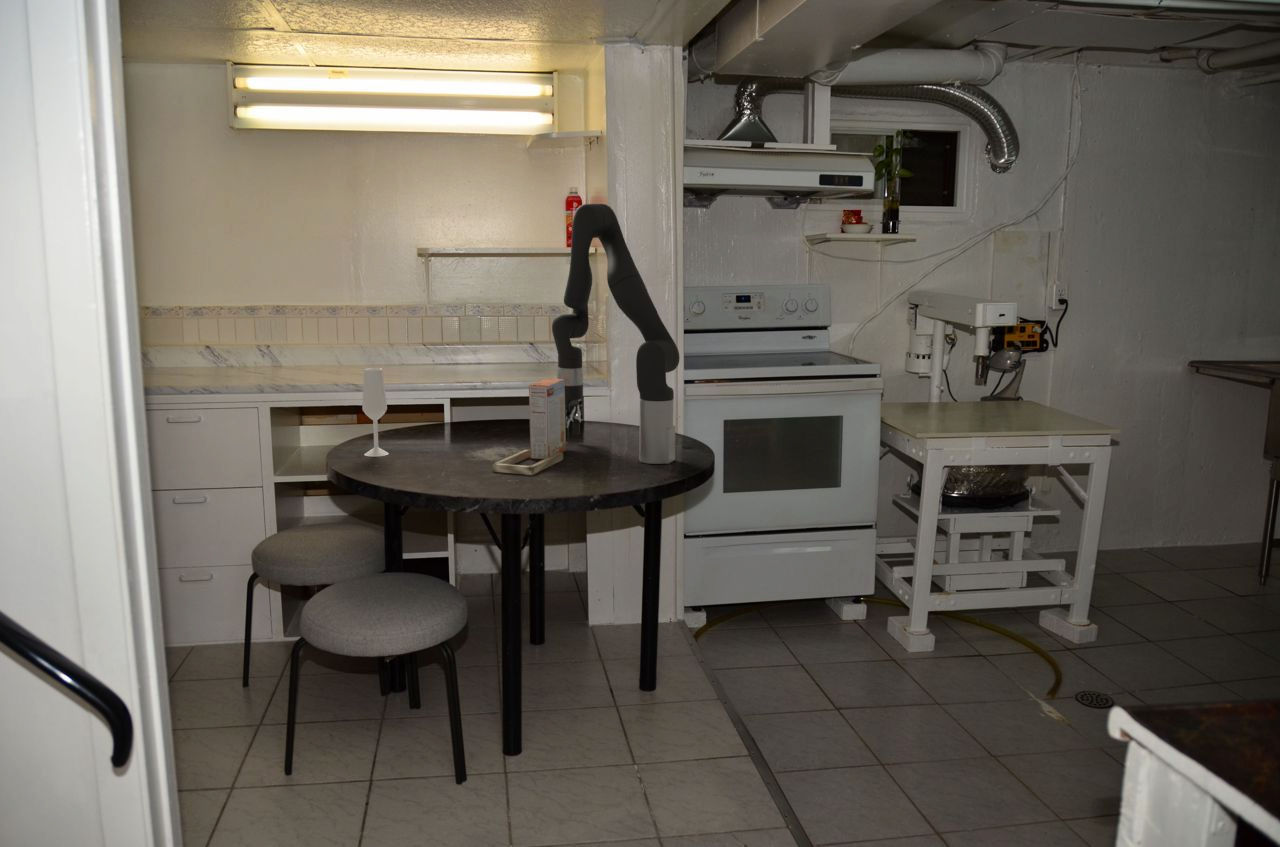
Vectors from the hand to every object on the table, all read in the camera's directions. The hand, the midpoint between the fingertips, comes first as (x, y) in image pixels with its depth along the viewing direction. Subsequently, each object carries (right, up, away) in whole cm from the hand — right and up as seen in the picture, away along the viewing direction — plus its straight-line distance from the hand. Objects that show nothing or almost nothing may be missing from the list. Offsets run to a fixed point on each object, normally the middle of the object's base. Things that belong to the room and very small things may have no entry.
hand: (570, 437), depth 289 cm
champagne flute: (-53, -5, -13) cm, 55 cm away
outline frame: (-9, -7, -26) cm, 29 cm away
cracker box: (-5, -5, -12) cm, 14 cm away
